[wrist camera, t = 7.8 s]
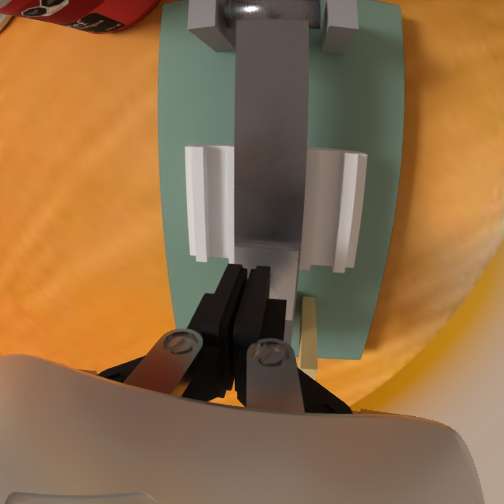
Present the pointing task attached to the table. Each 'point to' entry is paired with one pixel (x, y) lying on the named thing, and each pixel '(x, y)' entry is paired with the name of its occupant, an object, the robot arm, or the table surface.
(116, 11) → the canned food
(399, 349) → the table surface
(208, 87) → the clamp board
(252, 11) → the grey hinged clamp lever
